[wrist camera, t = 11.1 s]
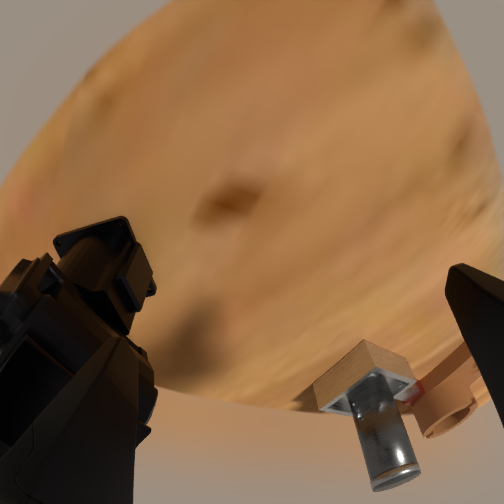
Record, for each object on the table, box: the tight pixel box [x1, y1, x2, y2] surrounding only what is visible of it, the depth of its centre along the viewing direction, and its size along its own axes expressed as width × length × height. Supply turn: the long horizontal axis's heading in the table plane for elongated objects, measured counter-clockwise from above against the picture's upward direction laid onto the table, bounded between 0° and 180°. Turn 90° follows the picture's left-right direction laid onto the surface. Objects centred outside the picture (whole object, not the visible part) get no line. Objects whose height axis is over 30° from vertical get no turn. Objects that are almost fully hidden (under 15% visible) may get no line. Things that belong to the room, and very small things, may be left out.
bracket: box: [411, 341, 481, 438], centre depth 30 cm, size 18×8×7 cm, turn 145°
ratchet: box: [313, 340, 426, 417], centre depth 30 cm, size 8×18×3 cm, turn 57°
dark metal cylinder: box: [347, 376, 421, 492], centre depth 23 cm, size 4×4×11 cm
